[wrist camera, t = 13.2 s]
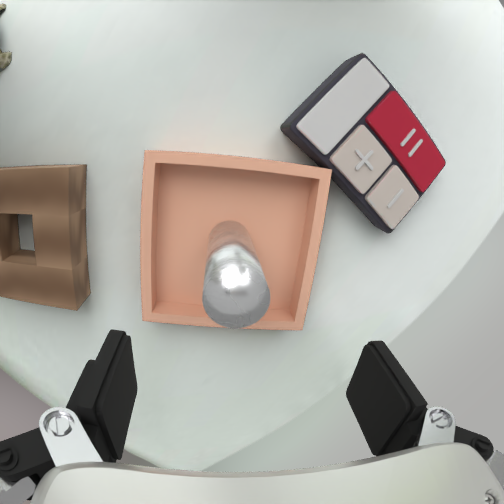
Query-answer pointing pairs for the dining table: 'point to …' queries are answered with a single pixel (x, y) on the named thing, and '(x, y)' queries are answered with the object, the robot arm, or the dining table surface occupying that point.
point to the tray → (224, 209)
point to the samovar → (4, 58)
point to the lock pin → (233, 278)
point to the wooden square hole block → (45, 235)
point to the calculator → (367, 141)
